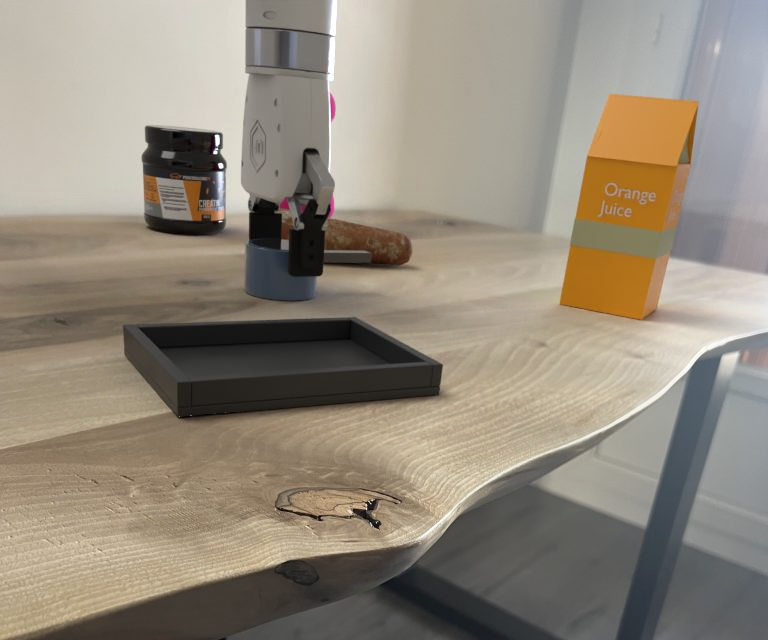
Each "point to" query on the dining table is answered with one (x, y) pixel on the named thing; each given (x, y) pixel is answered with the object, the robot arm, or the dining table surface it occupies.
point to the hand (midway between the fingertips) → (284, 265)
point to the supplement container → (184, 180)
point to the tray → (275, 364)
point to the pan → (284, 270)
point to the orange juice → (629, 205)
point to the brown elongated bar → (360, 240)
